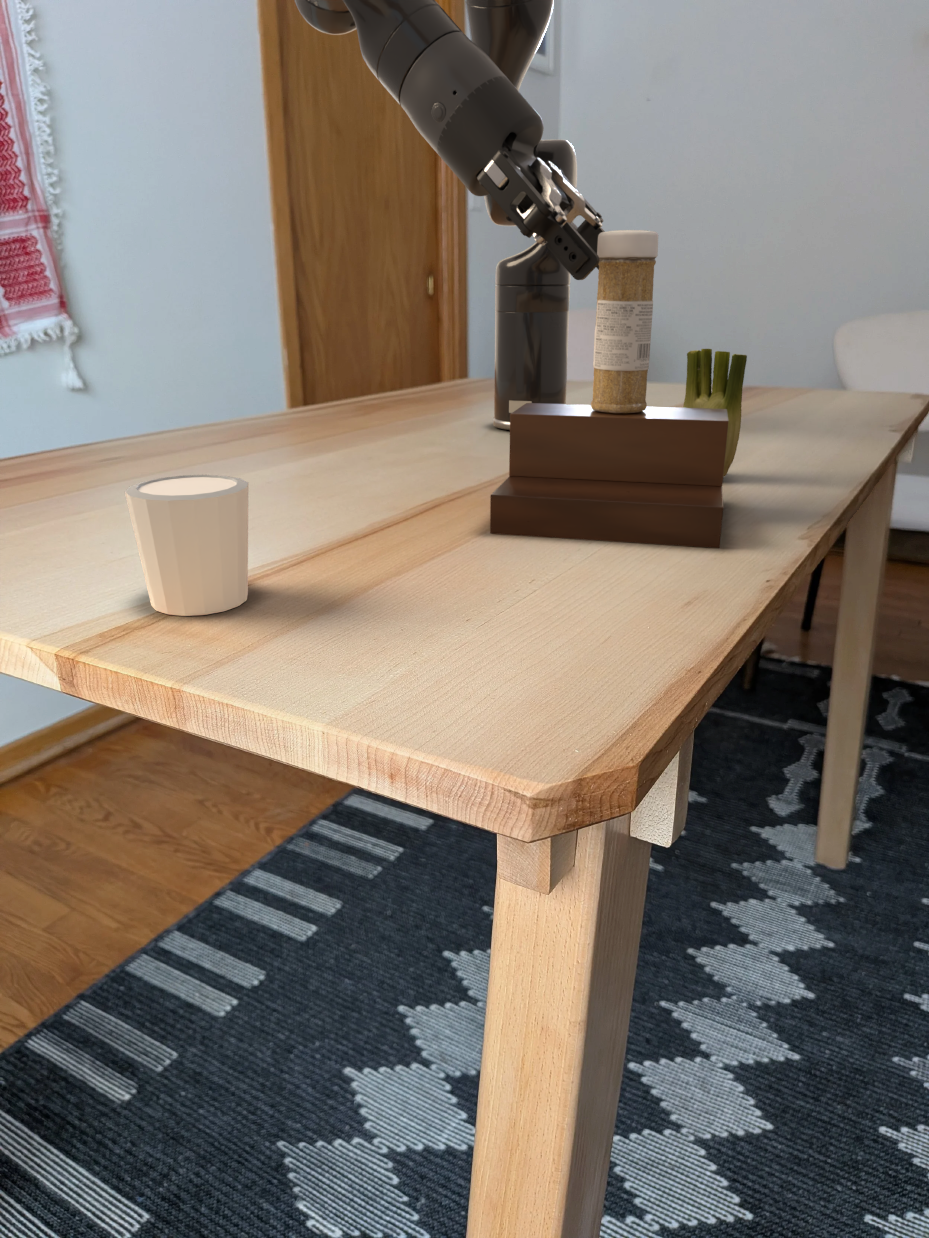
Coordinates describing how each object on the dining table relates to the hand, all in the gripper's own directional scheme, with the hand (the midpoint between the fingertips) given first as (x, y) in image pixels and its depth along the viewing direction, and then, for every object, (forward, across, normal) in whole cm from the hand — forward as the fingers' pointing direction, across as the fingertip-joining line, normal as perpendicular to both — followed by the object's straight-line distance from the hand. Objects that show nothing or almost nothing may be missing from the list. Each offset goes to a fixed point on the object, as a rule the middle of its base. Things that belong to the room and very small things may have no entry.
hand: (606, 272), depth 71 cm
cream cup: (+3, -33, +24) cm, 41 cm away
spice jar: (+9, 0, +6) cm, 11 cm away
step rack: (+15, -4, +11) cm, 19 cm away
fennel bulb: (+18, +15, +9) cm, 25 cm away
